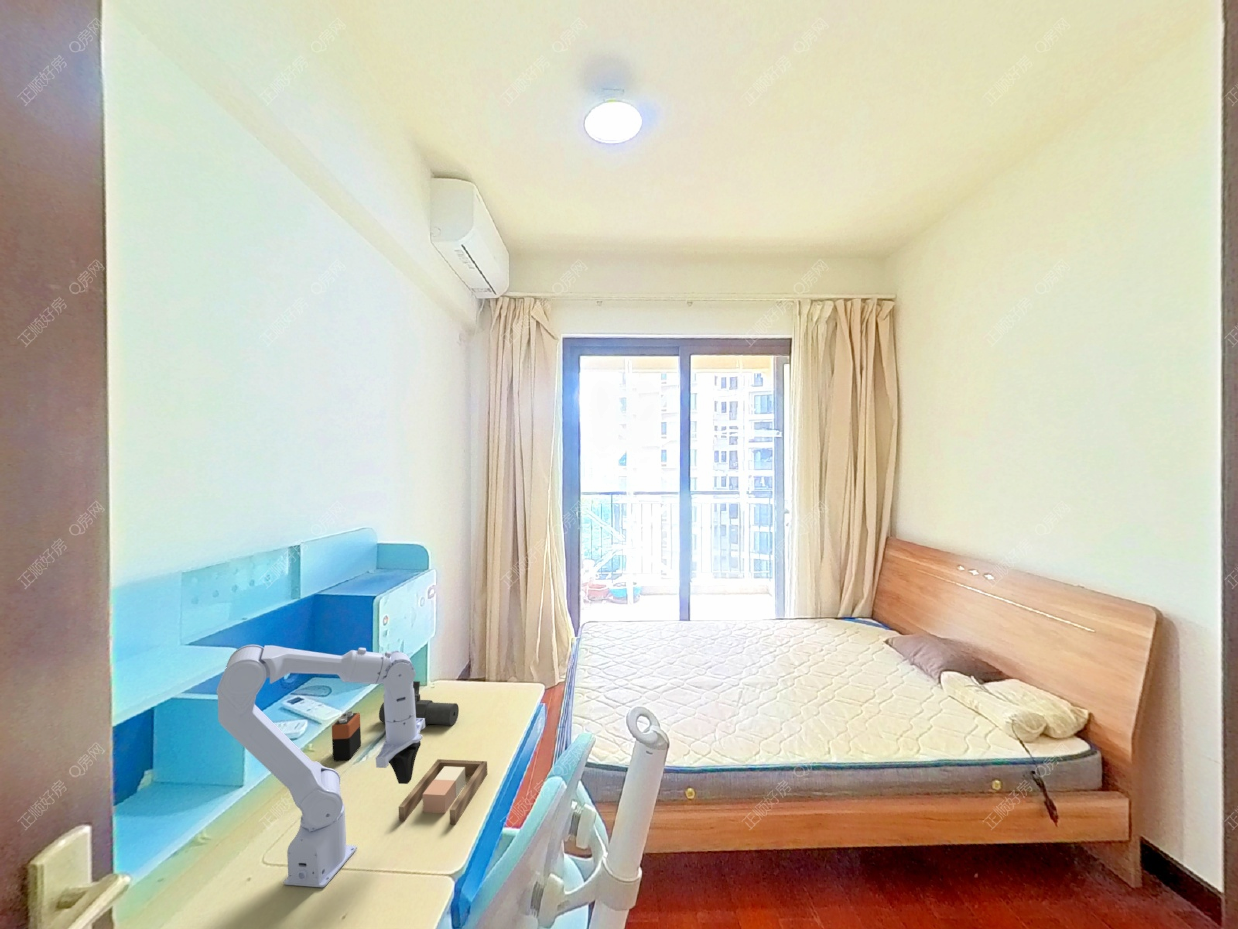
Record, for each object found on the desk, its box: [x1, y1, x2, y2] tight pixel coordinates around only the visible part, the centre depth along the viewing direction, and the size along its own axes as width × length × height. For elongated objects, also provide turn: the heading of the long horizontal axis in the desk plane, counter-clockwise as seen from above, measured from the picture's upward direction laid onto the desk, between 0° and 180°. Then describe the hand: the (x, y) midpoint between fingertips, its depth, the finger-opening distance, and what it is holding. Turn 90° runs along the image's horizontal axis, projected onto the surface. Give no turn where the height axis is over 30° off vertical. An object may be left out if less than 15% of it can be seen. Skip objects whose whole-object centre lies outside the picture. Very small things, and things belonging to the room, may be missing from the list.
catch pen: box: [398, 759, 488, 825], centre depth 116 cm, size 17×12×3 cm
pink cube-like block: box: [422, 780, 457, 814], centre depth 113 cm, size 5×5×4 cm
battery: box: [331, 710, 362, 762], centre depth 134 cm, size 4×7×10 cm, turn 2°
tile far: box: [434, 766, 467, 798], centre depth 118 cm, size 5×5×4 cm
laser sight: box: [378, 680, 460, 727], centre depth 150 cm, size 10×22×10 cm, turn 81°
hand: (404, 781), depth 104 cm, fingers closed
